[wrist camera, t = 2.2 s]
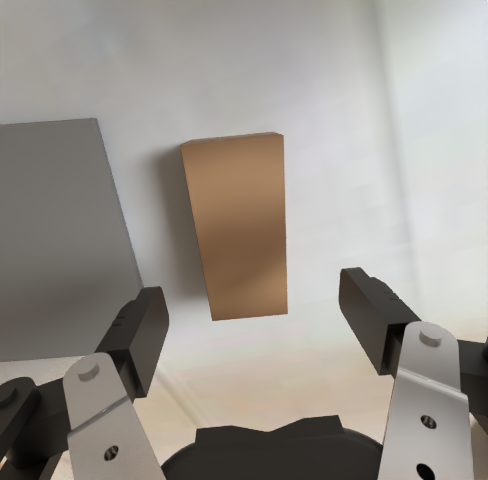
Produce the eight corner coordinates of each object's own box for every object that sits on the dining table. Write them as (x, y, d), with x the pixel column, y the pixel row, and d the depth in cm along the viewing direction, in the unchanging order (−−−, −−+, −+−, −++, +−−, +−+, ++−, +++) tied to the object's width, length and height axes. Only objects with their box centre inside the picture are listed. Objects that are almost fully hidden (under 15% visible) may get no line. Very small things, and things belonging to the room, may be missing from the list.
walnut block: (192, 139, 16) (180, 145, 13) (272, 131, 16) (283, 135, 12) (216, 285, 21) (212, 321, 17) (278, 280, 21) (287, 313, 17)
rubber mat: (-212, 141, 15) (-228, 141, 15) (96, 118, 15) (91, 118, 15) (-47, 360, 23) (-54, 365, 22) (158, 344, 23) (157, 350, 22)
